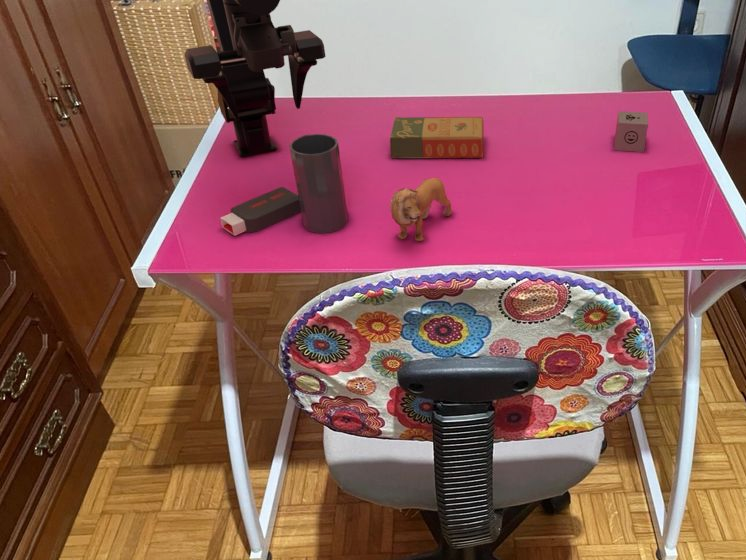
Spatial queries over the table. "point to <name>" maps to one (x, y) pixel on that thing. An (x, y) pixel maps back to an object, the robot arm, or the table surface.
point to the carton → (437, 137)
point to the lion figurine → (417, 205)
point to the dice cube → (631, 131)
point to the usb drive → (261, 211)
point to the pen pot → (319, 182)
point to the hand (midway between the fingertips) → (267, 113)
